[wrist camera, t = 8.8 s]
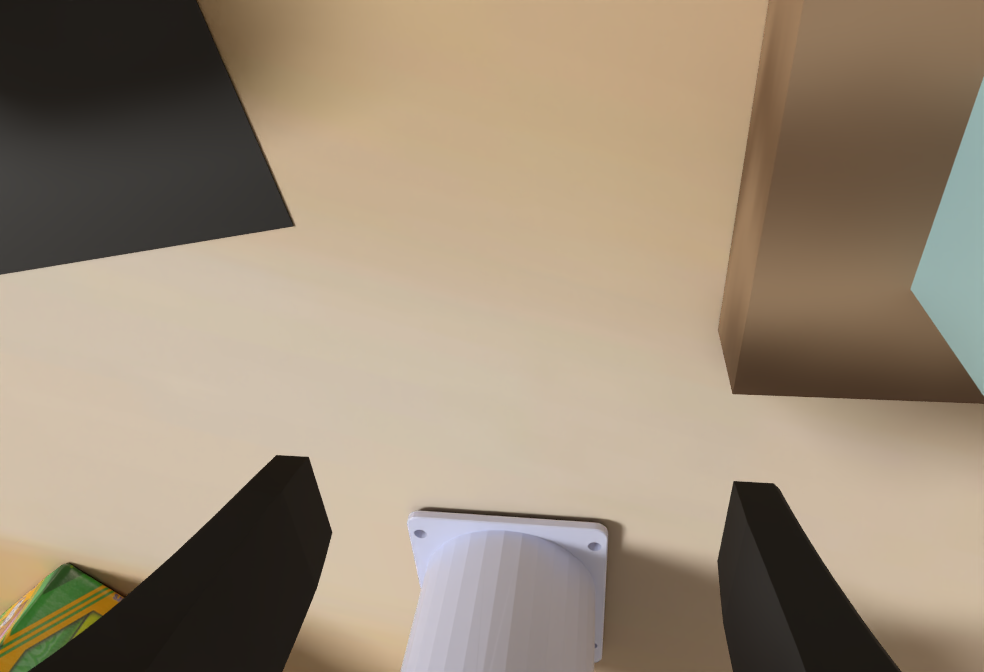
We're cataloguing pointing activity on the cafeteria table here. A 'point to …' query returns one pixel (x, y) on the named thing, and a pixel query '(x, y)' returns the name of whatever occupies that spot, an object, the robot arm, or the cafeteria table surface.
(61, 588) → the chalk box
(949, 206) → the teal cube
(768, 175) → the walnut base
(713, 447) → the cafeteria table surface
